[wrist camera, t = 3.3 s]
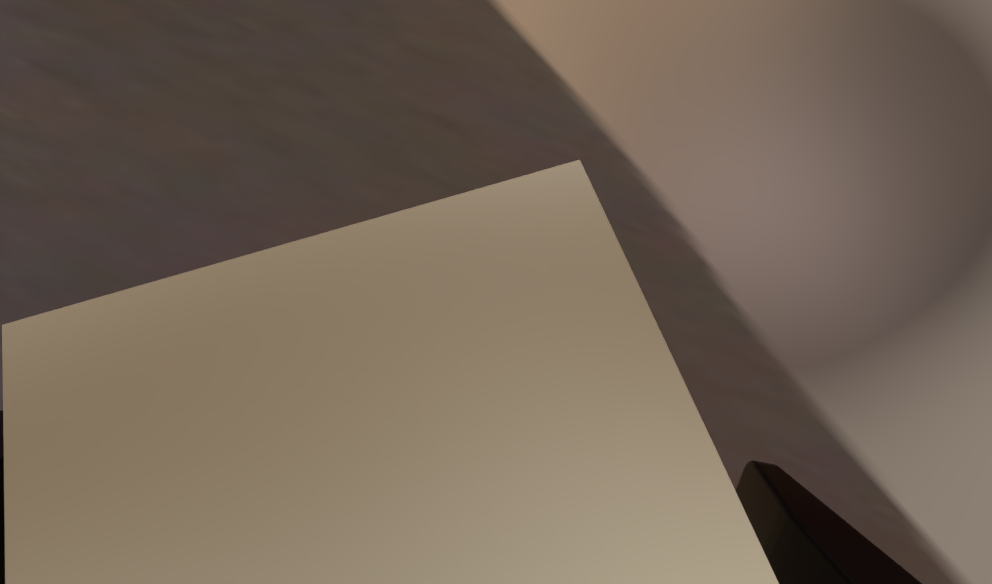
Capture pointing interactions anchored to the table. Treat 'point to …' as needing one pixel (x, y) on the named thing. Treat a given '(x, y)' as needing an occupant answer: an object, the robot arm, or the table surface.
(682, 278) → the table surface
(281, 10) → the table surface
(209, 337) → the tall beige wooden block
